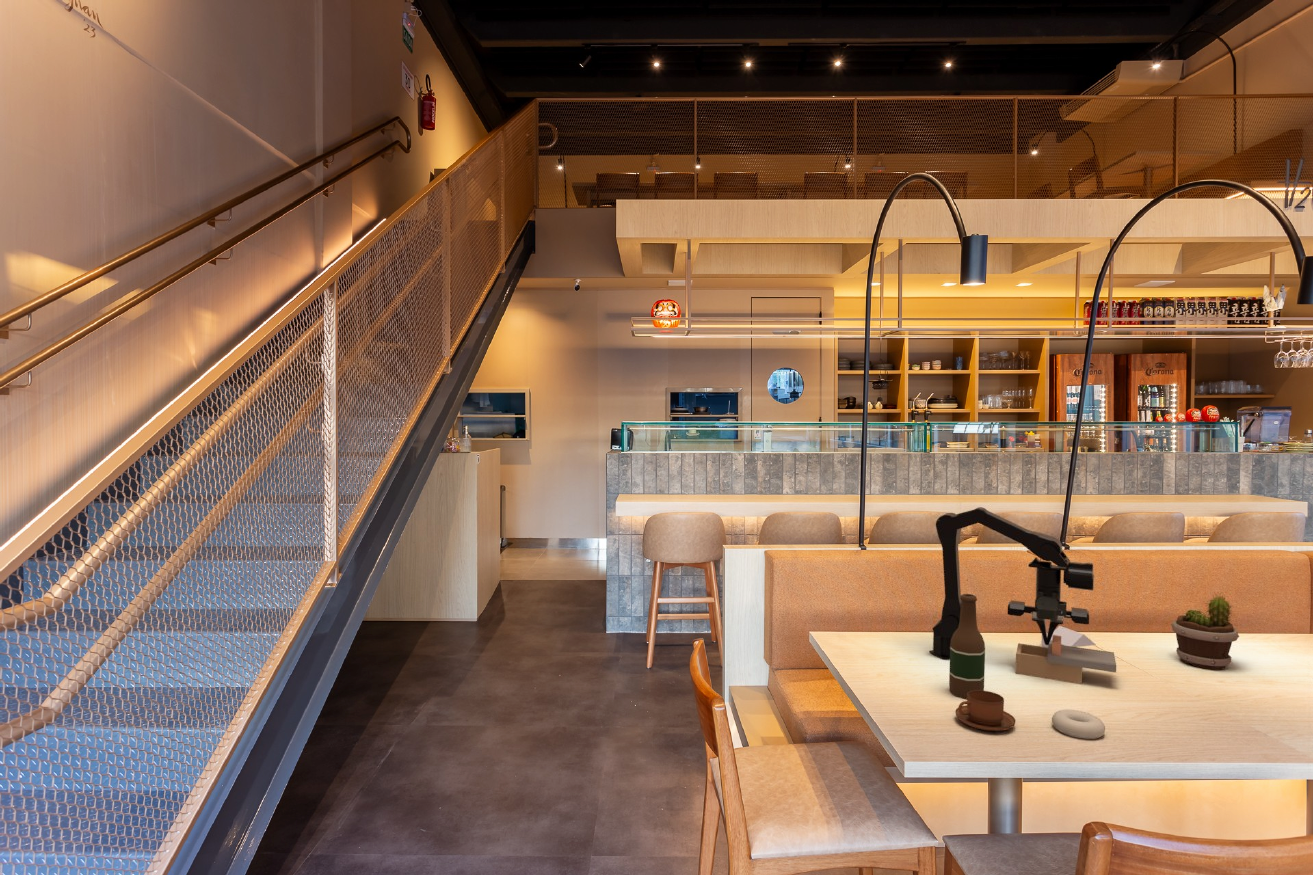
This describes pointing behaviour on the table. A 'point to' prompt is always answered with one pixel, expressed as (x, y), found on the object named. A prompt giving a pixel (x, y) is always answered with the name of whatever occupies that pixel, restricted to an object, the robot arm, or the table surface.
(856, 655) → the table surface
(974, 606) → the beer bottle
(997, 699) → the cup and saucer
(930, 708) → the table surface
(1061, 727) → the donut
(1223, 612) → the flowerpot
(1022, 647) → the base
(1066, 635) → the wedge on round base
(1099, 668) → the lid
